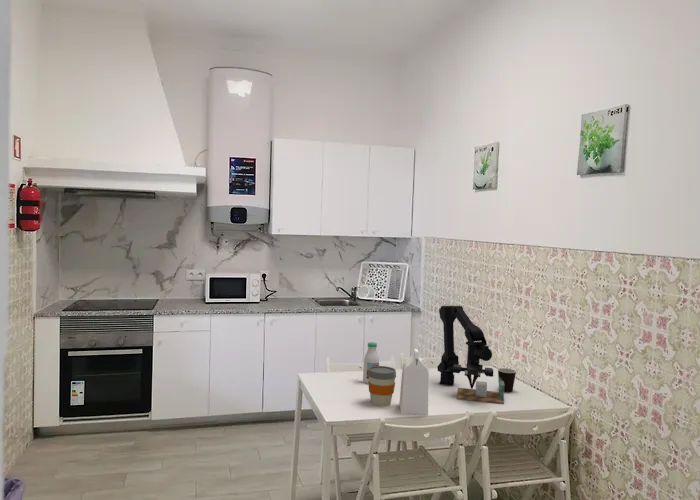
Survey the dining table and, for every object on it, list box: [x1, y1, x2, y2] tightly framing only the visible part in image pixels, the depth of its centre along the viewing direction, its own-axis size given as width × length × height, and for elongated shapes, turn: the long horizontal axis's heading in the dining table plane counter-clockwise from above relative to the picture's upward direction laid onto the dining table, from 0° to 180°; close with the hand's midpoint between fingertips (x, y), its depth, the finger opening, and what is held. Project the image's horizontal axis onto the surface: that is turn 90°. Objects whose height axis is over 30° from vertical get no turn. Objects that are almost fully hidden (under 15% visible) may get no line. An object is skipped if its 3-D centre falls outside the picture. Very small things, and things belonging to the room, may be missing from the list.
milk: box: [398, 348, 430, 416], centre depth 244 cm, size 12×12×26 cm
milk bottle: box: [362, 341, 380, 385], centre depth 282 cm, size 8×8×20 cm
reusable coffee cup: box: [367, 365, 397, 407], centre depth 252 cm, size 13×12×15 cm
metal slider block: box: [475, 380, 488, 397], centre depth 265 cm, size 5×6×6 cm
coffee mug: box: [497, 367, 517, 393], centre depth 280 cm, size 12×9×10 cm
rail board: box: [456, 380, 505, 405], centre depth 265 cm, size 21×12×8 cm, turn 78°
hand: (471, 388), depth 266 cm, fingers closed
